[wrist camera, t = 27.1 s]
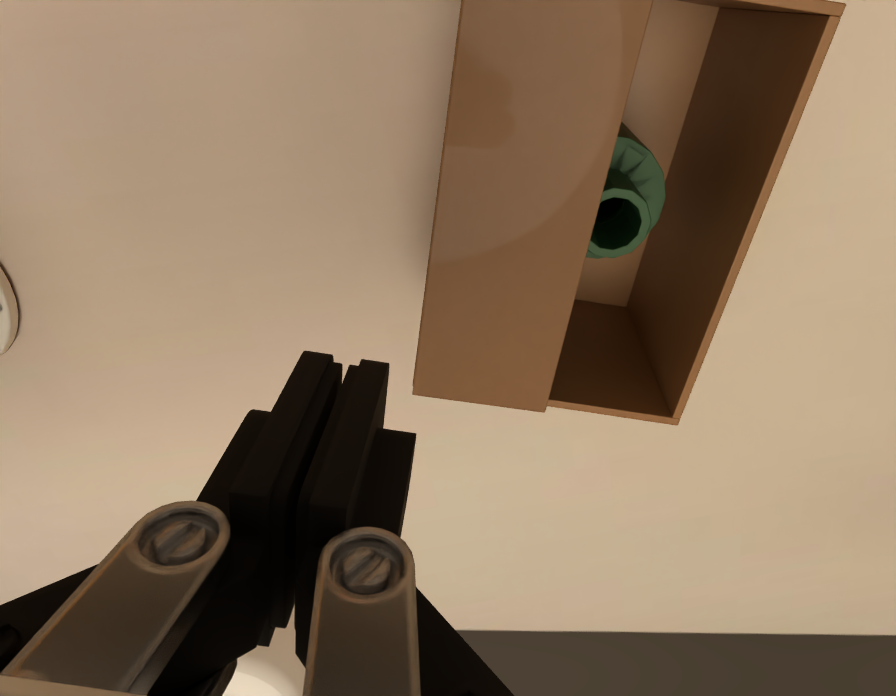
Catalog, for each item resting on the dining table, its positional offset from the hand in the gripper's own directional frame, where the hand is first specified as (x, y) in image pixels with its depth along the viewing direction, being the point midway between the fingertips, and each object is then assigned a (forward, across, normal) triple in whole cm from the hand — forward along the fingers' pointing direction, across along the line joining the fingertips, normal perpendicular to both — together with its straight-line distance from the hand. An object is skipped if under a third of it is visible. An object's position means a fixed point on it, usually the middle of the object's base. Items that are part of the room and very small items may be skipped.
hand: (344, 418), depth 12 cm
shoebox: (+27, -7, 0) cm, 28 cm away
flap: (+14, -4, 0) cm, 15 cm away
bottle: (+27, -8, 0) cm, 28 cm away
